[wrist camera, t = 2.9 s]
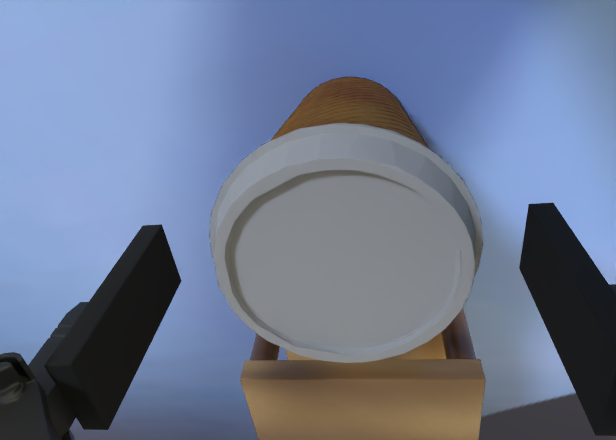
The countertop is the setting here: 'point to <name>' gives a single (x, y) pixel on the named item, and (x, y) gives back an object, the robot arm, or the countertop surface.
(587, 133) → the countertop surface
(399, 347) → the disposable coffee cup
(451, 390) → the oak rack
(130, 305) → the robot arm
